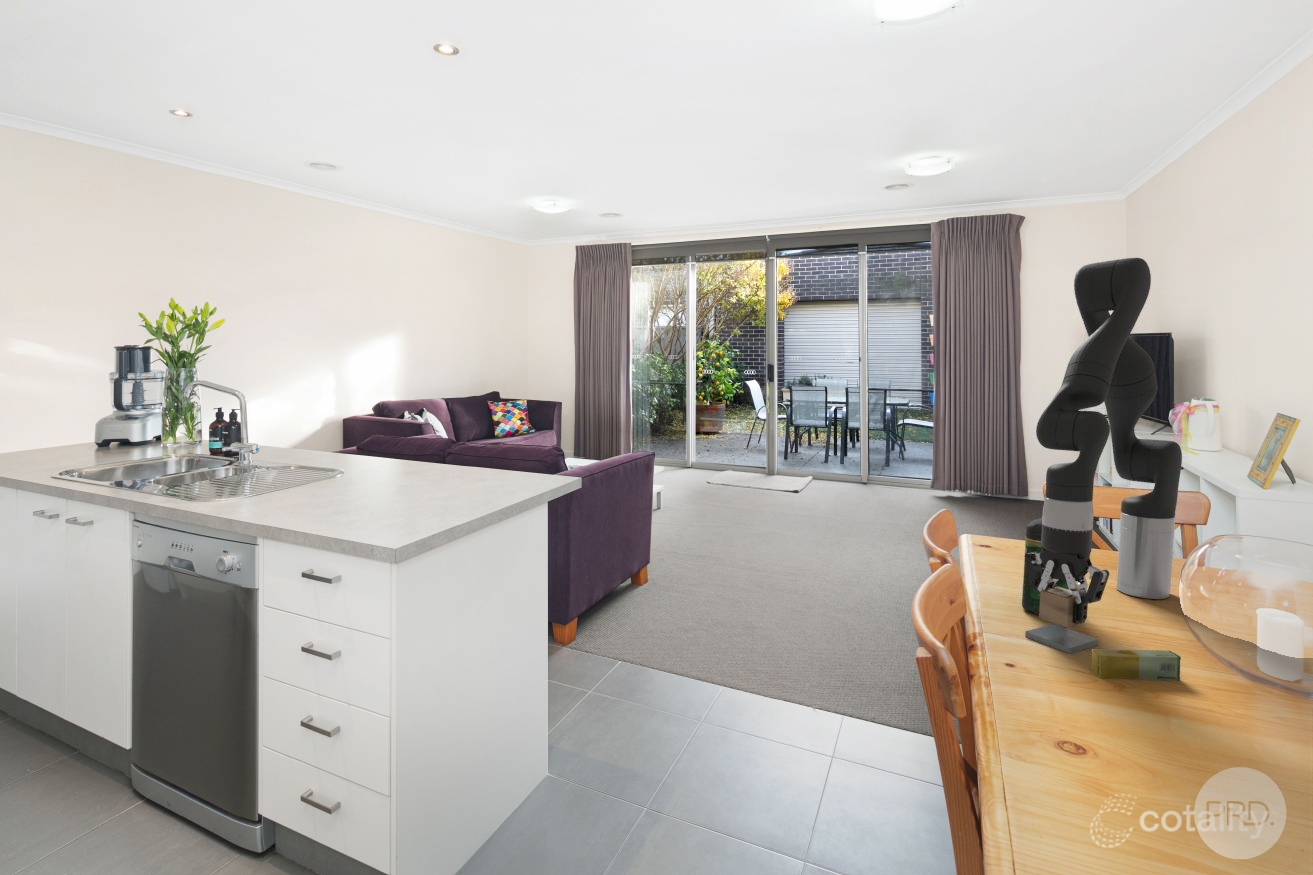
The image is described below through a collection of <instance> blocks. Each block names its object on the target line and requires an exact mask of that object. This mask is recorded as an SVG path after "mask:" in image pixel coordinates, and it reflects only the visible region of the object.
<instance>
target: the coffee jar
mask: <svg viewBox="0 0 1313 875" xmlns="http://www.w3.org/2000/svg"><path fill="white" fill-rule="evenodd" d="M1025 530H1026V531H1025V542H1024V543H1025V544H1024V555H1025V554H1027V553H1031V552H1037V553H1040V552H1041V551H1042V549H1043V547H1042V546H1041V536H1042V516H1041V517H1039V518H1036V519H1034V520H1031V521H1030V522H1029V523H1027V525H1026V527H1025ZM1041 569H1042V574H1043V572H1044V570H1045V566H1044V564H1043V563H1042V562H1041ZM1022 581H1023V583H1022V591H1021V592H1022V597H1021V606H1022V608H1023V610H1025V611H1028V612H1032V613H1034V614H1036V615H1038V616H1039V609H1040V606H1039V601H1040V591H1039V590H1038V588H1036V587H1035V586H1031V585H1030V584H1029V580H1028V574H1027V568H1026V562H1025V558H1024V563H1023V580H1022ZM1054 587H1062V588H1065V589H1069V587H1068V584H1067V582H1064V581H1063V580H1061V579H1059V580H1058V581H1057V582H1056V583H1055V585H1054ZM1069 590H1070V589H1069Z"/></svg>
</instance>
